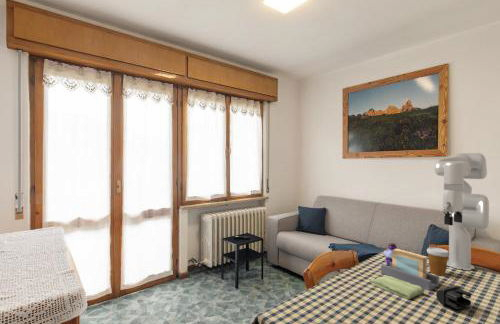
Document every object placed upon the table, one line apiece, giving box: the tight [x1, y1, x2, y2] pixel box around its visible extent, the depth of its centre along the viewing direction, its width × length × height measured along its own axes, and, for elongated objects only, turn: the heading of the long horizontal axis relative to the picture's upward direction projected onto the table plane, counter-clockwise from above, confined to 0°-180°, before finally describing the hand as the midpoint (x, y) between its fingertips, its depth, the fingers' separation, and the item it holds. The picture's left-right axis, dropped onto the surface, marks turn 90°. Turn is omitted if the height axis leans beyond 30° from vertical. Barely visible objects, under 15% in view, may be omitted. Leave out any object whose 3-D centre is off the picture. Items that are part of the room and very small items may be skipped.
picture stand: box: [380, 262, 440, 292], centre depth 128 cm, size 10×22×4 cm, turn 33°
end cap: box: [435, 285, 472, 313], centre depth 104 cm, size 10×7×7 cm
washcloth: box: [370, 275, 425, 300], centre depth 118 cm, size 13×18×3 cm
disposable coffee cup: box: [426, 246, 449, 276], centre depth 136 cm, size 10×10×12 cm
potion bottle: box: [383, 242, 398, 267], centre depth 146 cm, size 9×9×12 cm
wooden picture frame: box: [392, 248, 428, 279], centre depth 128 cm, size 4×14×11 cm, turn 33°
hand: (453, 223), depth 126 cm, fingers open, 9 cm apart
